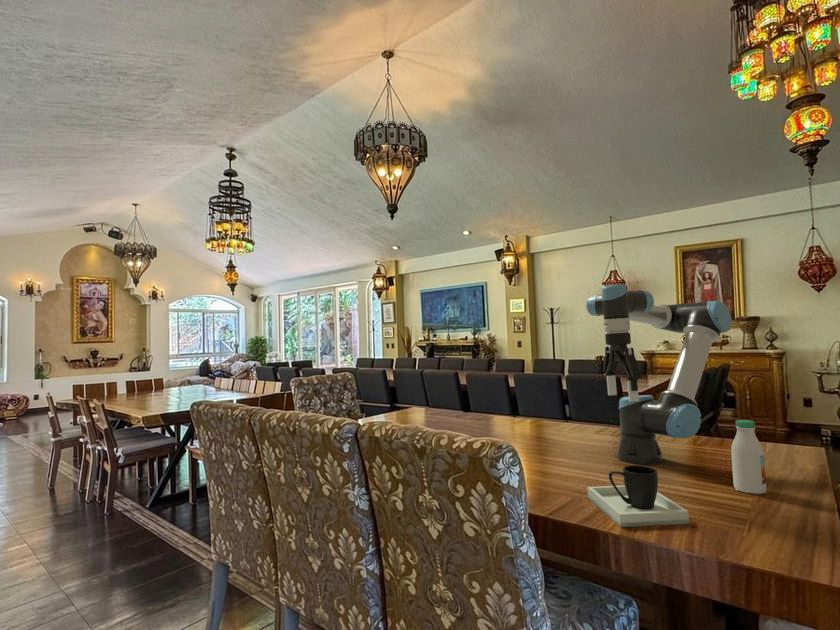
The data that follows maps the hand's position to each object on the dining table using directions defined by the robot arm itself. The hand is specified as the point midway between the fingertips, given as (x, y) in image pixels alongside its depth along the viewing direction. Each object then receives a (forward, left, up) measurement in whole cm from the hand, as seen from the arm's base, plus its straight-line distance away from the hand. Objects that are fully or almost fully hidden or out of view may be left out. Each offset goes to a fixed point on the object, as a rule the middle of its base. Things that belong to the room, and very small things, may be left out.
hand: (622, 398), depth 144 cm
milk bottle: (-29, +14, -26) cm, 42 cm away
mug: (+9, +23, -25) cm, 36 cm away
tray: (+10, +24, -26) cm, 36 cm away
